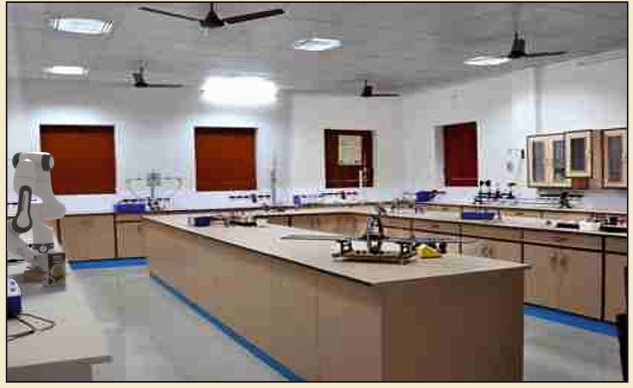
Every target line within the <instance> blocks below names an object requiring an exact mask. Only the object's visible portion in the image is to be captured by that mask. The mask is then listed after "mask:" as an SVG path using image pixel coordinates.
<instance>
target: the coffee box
mask: <svg viewBox="0 0 633 388" xmlns="http://www.w3.org/2000/svg"><path fill="white" fill-rule="evenodd" d="M66 253H67V252H62V251H56V252H54V253H43V281H42V286H45V287H48V288H50V287H57V286H65V285H66V284H67V281H66V280H67V279H66V278H67V274H66V272H67V270H66V265H67V264H66V259H67V258H66V255H67V254H66Z"/></svg>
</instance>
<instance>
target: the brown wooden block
mask: <svg viewBox="0 0 633 388" xmlns="http://www.w3.org/2000/svg"><path fill="white" fill-rule="evenodd" d="M23 282H24V283H25V284H26V283H38V282H43V270H32V269H31V270H30V269H29V270H28V269H26V270H23Z"/></svg>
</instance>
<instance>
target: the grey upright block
mask: <svg viewBox="0 0 633 388" xmlns="http://www.w3.org/2000/svg"><path fill="white" fill-rule="evenodd" d="M33 256H34V260H35V261H37V262H38V263H39V266H38V267H37V266H36V265H34V264H32V267H31V270H43V255H33Z"/></svg>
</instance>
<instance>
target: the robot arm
mask: <svg viewBox="0 0 633 388" xmlns="http://www.w3.org/2000/svg"><path fill="white" fill-rule="evenodd" d="M11 164H12V167H13V169H15V170H14V174H13V182H12V183H13V184H12V186H13V187H12V188H13V191H14V192H15V193H16V195H17V208H16V209H17V210H16V213H15V216H14V217H12V218H11V219H8V220H6V221H7V249H6V251H8V252H9V253H10V254H12V255H13V256H18V257H20V258H21V259H23V261H25V262H26V263H28V264H26V265H25V267H26V268H32V264H34V265H36V266H37V267H38V266H39V263H38V262H37V261H35V260H34V256H33V255H43V253H54V252H57V251H56V250H55V243H54V230H53V228H52V227H50V226H48V225H46V224H45V223H43V221H44V220H46V221H47V220H49V221H50V220H59V219H62V218H64V217H65V215H66V213H67V208H66V206H65V204H64V203H63V202H62V201H60V200H59V199H58V198H57V197H56V196H55V194H54V192H53V188H52V180H51V179H52V178H51V170H53V169H54V166H55V159H54V156H53V155H52V154H51V153H49V152H39V151H33V152H32V151H29V152H28V151H27V152H23V151H20V152H16V153H14V155H13V156H12V159H11ZM33 195H34V196H35V197H38V198H39V199H41V200H40V201H38V200H37V201H33V200H32V197H33ZM30 230H31V231H32V232H31V234H32V244H31V247H32V250H31V249H30V248H29V247H28V246H27V244H28V243H27V242H26V241H25V240H23V239H22V238H21V237H20V235H23V234H25V233H28V232H30Z"/></svg>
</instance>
